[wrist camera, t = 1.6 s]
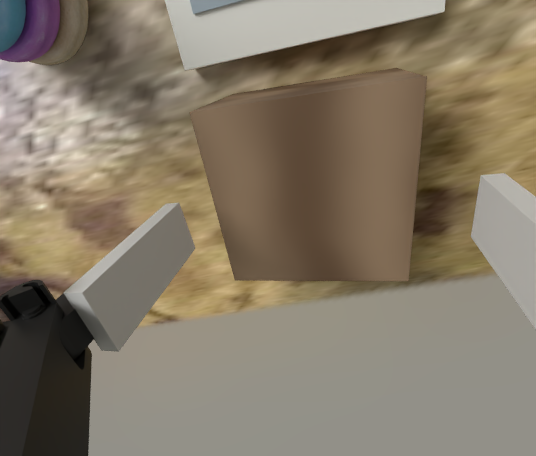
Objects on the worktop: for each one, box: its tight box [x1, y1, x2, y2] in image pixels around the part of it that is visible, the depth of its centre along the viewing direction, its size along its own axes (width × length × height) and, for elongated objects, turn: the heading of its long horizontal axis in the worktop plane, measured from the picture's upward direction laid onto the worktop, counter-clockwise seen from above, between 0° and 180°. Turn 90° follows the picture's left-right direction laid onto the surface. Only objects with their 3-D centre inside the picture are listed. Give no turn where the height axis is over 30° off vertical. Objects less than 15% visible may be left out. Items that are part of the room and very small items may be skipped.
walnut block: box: [190, 68, 427, 281], centre depth 18 cm, size 10×10×7 cm
